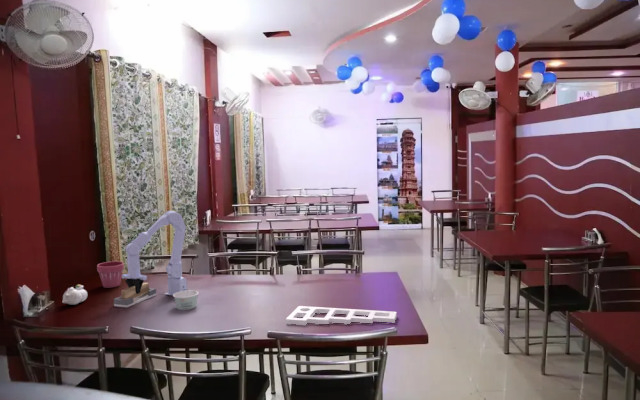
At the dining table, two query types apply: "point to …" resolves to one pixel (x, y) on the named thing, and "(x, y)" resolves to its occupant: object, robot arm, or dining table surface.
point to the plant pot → (110, 273)
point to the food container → (186, 299)
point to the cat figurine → (74, 295)
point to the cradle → (134, 299)
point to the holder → (310, 312)
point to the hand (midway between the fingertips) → (135, 293)
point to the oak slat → (134, 291)
